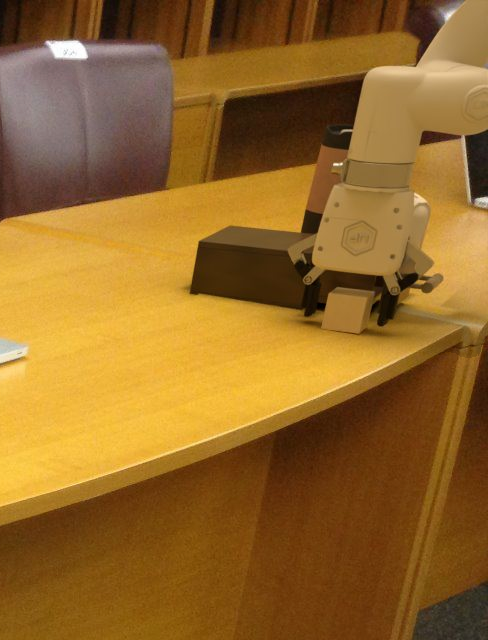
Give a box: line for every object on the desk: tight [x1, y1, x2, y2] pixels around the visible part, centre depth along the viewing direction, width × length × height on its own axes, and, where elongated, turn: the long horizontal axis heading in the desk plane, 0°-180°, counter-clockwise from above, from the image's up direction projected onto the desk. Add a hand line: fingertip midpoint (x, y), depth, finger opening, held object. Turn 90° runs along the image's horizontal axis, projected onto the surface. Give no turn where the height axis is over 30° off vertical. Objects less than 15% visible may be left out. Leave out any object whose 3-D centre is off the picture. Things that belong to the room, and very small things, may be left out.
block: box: [320, 287, 375, 335], centre depth 193 cm, size 4×4×4 cm
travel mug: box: [300, 124, 354, 234], centre depth 220 cm, size 8×8×20 cm
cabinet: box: [189, 225, 314, 311], centre depth 209 cm, size 15×15×8 cm
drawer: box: [311, 256, 444, 314], centre depth 202 cm, size 18×13×6 cm
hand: (345, 319), depth 193 cm, fingers open, 8 cm apart
